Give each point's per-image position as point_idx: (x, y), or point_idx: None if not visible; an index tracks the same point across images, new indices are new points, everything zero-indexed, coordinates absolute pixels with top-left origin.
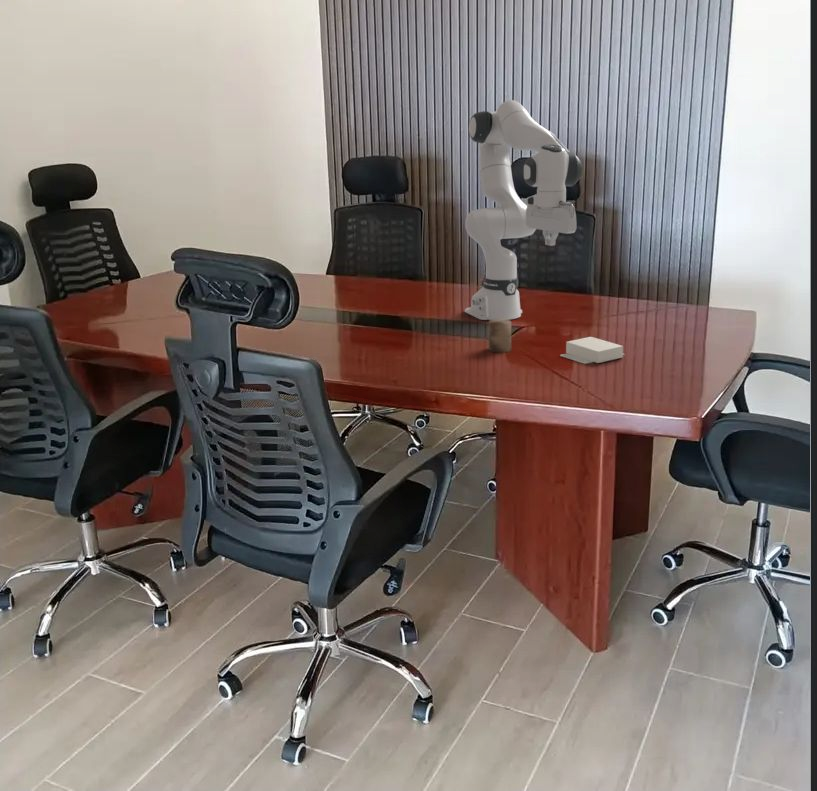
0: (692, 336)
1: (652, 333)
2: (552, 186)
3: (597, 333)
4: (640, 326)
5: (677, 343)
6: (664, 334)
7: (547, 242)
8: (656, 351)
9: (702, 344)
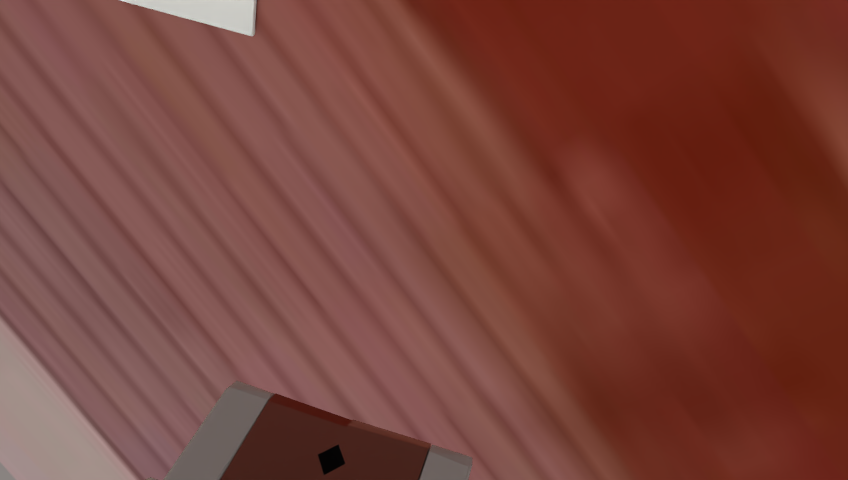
0: (134, 423)
1: None
2: None
3: (458, 287)
4: None
5: (91, 309)
6: None
7: (361, 469)
8: (44, 149)
9: (28, 340)
